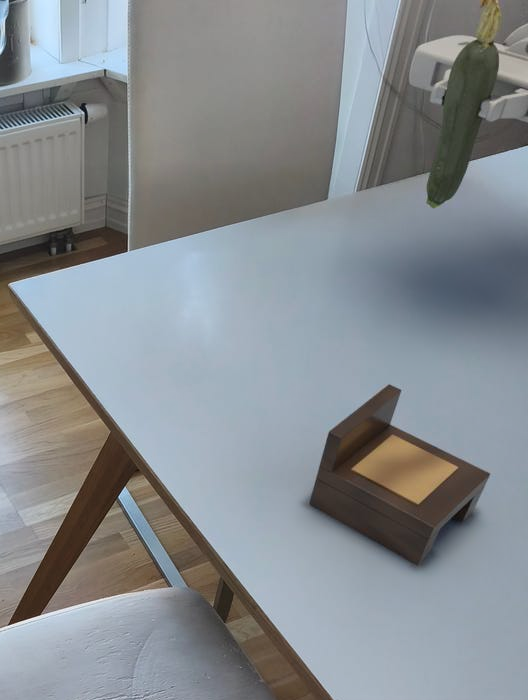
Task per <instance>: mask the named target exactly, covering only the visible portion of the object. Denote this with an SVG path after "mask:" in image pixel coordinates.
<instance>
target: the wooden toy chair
mask: <svg viewBox="0 0 528 700" xmlns="http://www.w3.org/2000/svg"><path fill="white" fill-rule="evenodd" d="M401 393H402V389H401V388H398V387H397V386H394V385H392V384H390V383H389V384H387V385H386V386H384V388H382V389H381V390H380V391H378V392H377V393H376V394H374V395H373V396H372V397H371V398H369V399H368V400H367V401H366V402H365V403H363V404H362V405H361V406H359V407H358V408H356V410H354V411H353V412H351V413H350V414H349V415H348V416H347V417H345V418H344V419H343V420H342V421H340V422H339V423H338V424H336V425H335V426H334V427H333V428H331V429H330V430H329V431H328V432H327V437H326V440H325V443H324V446H323V447H324V448H323V451H322V455H321V459H320V462H319V466H318V469H317V473H316V476H315V481H314V485H313V489H312V492H311V494H310V495H311V496H310V499H309V503H308V505H310V506H311V507H312V508H315V509H316V510H318V511H320V512H322V513H323V514H325V515H327V516H328V517H331V518H332V519H334V520H336V521H338V522H339V523H341V524H343V525H344V526H347V527H349V528H350V529H352V530H354V531H355V532H358V533H359V534H360V535H363V536H364V537H366V538H368V539H370V540H371V541H373V542H375V543H377V544H378V545H380V546H382V547H384V548H385V549H387V550H389V551H391V552H393V553H394V554H396V555H398V556H400V557H401V558H403V559H405V560H407V561H409V562H410V563H412V564H413V565H416V566H419V565H420V564H421V563H422V562H424V560H425V559H426V558H428V556H430V553H431V551H432V549H433V546H434V545H435V542H436V539H437V537H438V535H439V533H440V531H441V529H442V528H443V527H444V526H445V525H446V524H447V523H448V522H449V521H450V520H451V519H452V518H454V519H455V520H457V521H459V522H461V523H463V522H465V520H467V518H469V517H470V516H471V515H472V514H473V512H474V511H475V508H476V506H477V504H478V502H479V500H480V498H481V496H482V494H483V491H484V489H485V487H486V485H487V482H488V480H489V478H490V476H491V473H490V472H488V471H486V470H484V469H482V468H480V467H479V466H477V465H474V464H472V463H470V462H469V461H466V460H464V459H462V458H459V457H458V456H456V455H453V454H451V453H450V452H447V451H445V450H444V449H442V448H439V447H437V446H435V445H433V444H431V443H429V442H427V441H425V440H423V439H421V438H419V437H417V436H415V435H412V434H411V433H408V432H406V431H405V430H402V429H400V428H399V427H396V426H394V425H392V424H391V423H392V420H393V417H394V414H395V411H396V409H397V405H398V402H399V399H400V396H401Z"/></svg>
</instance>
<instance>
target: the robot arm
mask: <svg viewBox="0 0 528 700" xmlns="http://www.w3.org/2000/svg"><path fill="white" fill-rule="evenodd" d="M474 40H477V37H476V36H470V35H463V34H462V35H461V34H458V35H450V36H445V37H440V38H437V39H434V40H431V41H427V42H425V43H422V44H420V45H418V46H417V47H416V49H415V51H414V53H413V56H412V60H411V63H410V68H409V71H408V82H409V84H410V85H411V86H413V87H415V88H419V89H422V90H425V91H428V92H430V97H429V102H430V103H431V104H435V105H439V106H442V107H444V100H445V94H446V89H447V84H448V79H449V75H450V72H451V68H452V66H453V63H454V61H455V59H456V58H457V56H458V54H459V53H460V52H461V50H462V49H463V48H464V47H465V46H466V45H467V44H469V43H470V42H472V41H474ZM494 44H495V46H496V47H497V49H498V53H499V70H498V74H497V78H496V81H495V84H494V87H493V90H492V93H491V96H489V98H485V99H484V100H483V102H482V104H481V110H480V111H479V113H478V118H481V119H482V121H483V120H484V121H486V122H490V123H493V122H494V121H497V120H499V119H503V120H504V119H515V120H519V121H521V122H525V123H528V23H526V24H524V25H521V26H519V27H518V28H516V29H515V30H513V32H511V33H510V34H509V35H508V36H507V38H506V39H505V40H504V41H503V42H502V44H500V43H497V42H494Z"/></svg>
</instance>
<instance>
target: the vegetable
mask: <svg viewBox="0 0 528 700" xmlns="http://www.w3.org/2000/svg"><path fill="white" fill-rule="evenodd" d="M483 7H484V9H483V11H482V13H481V15H480V18H479V23H478V26H477V28H476V31H475V38H477V40H474V41H472V42H470V43H469V44H467V45H466V46H465V47H464V48H463V49H462V50H461V52H460V53H459V54H458V56H457V58H456V59H455V61H454V63H453V66H452V68H451V72H450V75H449V79H448V84H447V89H446V94H445V100H444V106H443V107H442V108H443V109H442V123H441V128H440V129H441V130H440V135H439V139H438V143H437V147H436V149H435V153H434V156H433V160H432V163H431V167H430V171H429V174H428V175H429V176H428V178H427V182H426V194H427V198H426V201H425V202H426V204H427V205H429V207H430V208H432V209H436V208H437V207H440V206H441V205H443V204H444V203H445V202H447V201H449V200H451V199H452V198H453V197H454V196H455V195H456V193H457V192H458V190H459V188H460V186H461V184H462V182H463V179H464V177H465V175H466V173H467V171H468V167H469V164H470V160H471V157H472V153H473V150H474V145H475V143H476V140H477V137H478V133H479V131H480V127H481V124H482V121H483V119H481V118H478V113H479V111H480V110H481V104H482V102H483V100H484V99H485V98H489V96H491V93H492V90H493V87H494V84H495V81H496V78H497V74H498V70H499V53H498V49H497V47H496V46H495V44H494V43H495V39H496V38H497V35H498V34H499V31H500V29H501V25H502V19H503V18H502V11H501V7H500V6H499V1H498V0H481V2H480V5H479V6H478V9H482V8H483Z"/></svg>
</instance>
